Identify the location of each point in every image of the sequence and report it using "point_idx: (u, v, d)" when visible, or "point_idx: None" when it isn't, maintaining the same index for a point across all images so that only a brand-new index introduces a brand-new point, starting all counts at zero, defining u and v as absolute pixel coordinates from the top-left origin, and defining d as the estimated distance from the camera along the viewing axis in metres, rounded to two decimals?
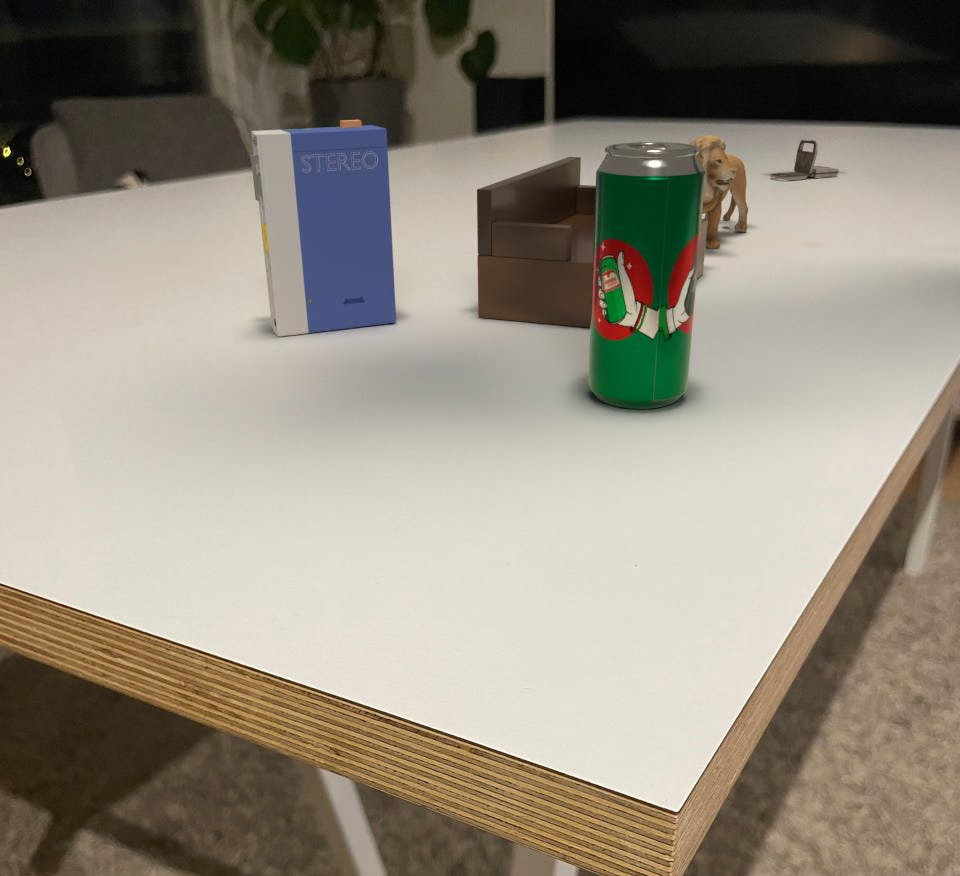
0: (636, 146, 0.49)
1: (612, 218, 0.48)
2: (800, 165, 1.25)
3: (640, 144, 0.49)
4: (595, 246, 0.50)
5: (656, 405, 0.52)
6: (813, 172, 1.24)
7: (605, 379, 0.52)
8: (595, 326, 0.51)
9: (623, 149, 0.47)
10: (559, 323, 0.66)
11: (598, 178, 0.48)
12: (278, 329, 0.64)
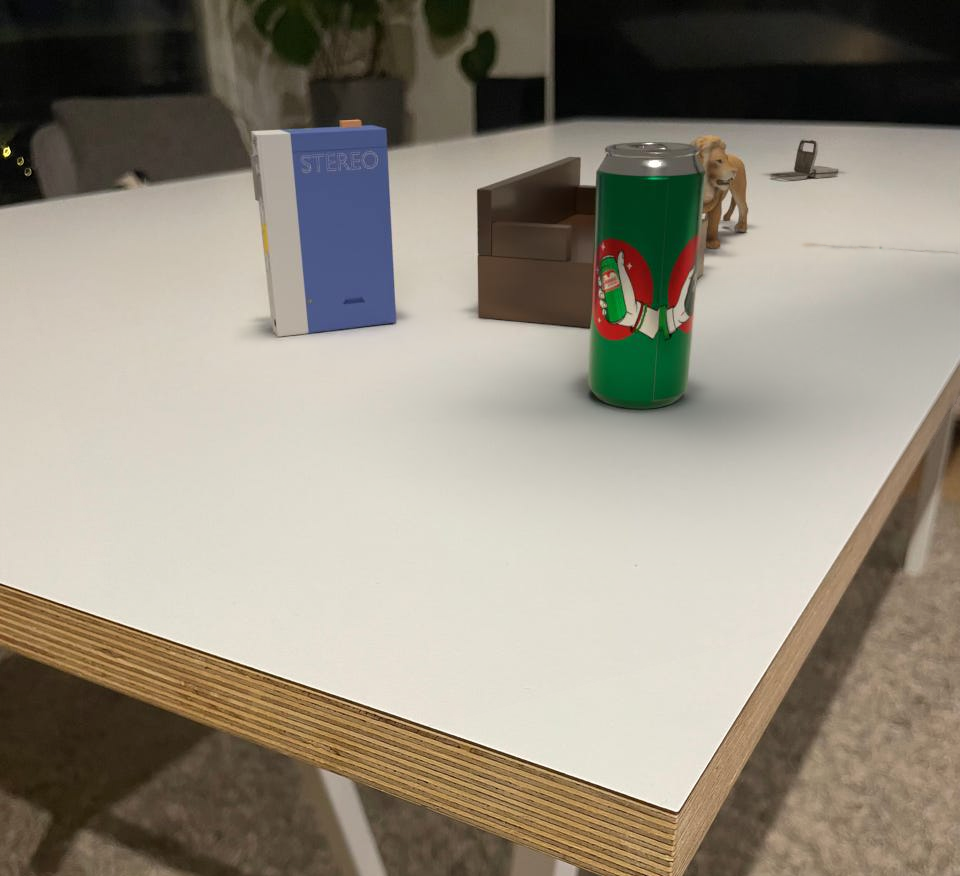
0: (636, 146, 0.49)
1: (612, 218, 0.48)
2: (800, 165, 1.25)
3: (640, 144, 0.49)
4: (595, 246, 0.50)
5: (656, 405, 0.52)
6: (813, 172, 1.24)
7: (605, 378, 0.52)
8: (595, 326, 0.51)
9: (623, 149, 0.47)
10: (559, 323, 0.66)
11: (598, 178, 0.48)
12: (278, 329, 0.64)
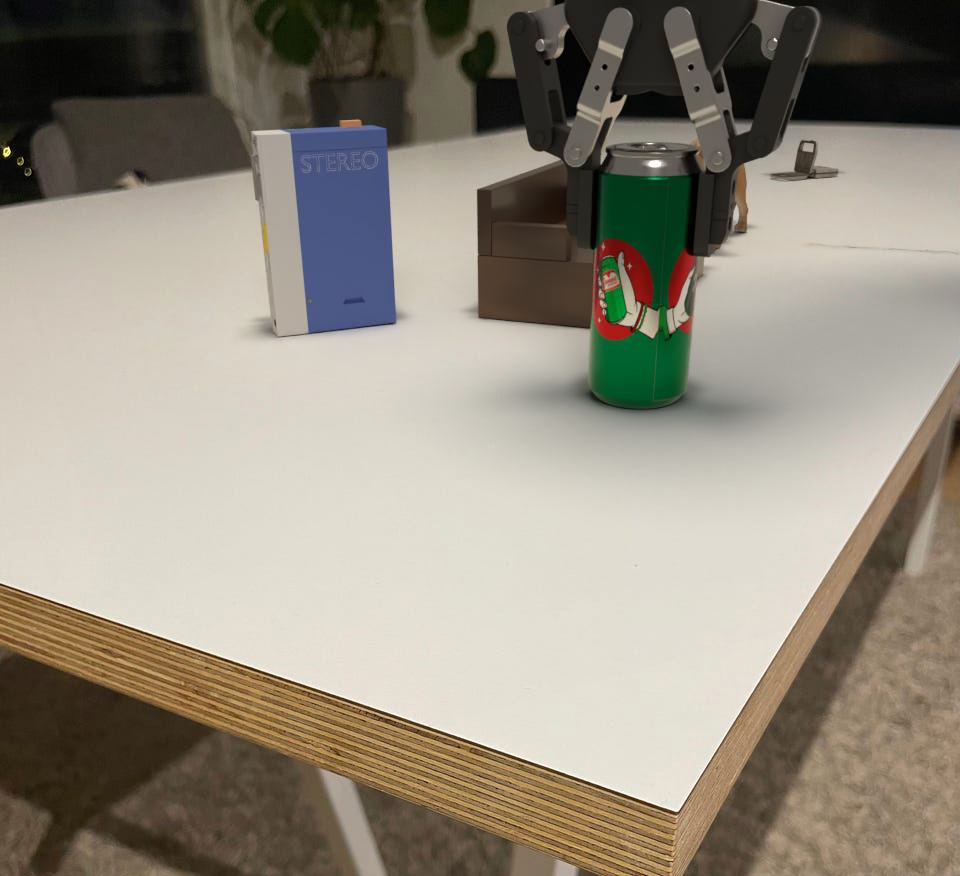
0: (637, 146, 0.49)
1: (612, 218, 0.48)
2: (800, 165, 1.25)
3: (640, 144, 0.49)
4: (595, 246, 0.50)
5: (656, 405, 0.52)
6: (813, 172, 1.24)
7: (604, 378, 0.52)
8: (595, 326, 0.51)
9: (624, 149, 0.47)
10: (559, 323, 0.66)
11: (598, 178, 0.48)
12: (278, 329, 0.64)
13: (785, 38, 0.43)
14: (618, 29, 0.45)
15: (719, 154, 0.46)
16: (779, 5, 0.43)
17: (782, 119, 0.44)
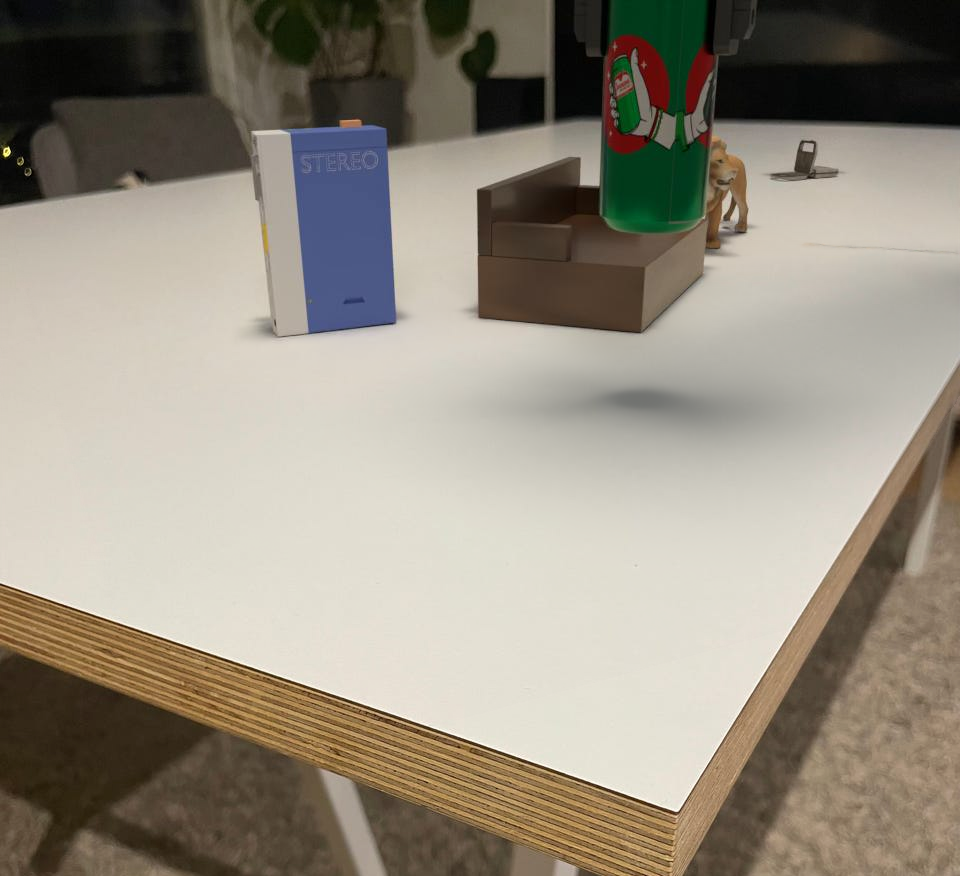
0: None
1: (625, 11, 0.44)
2: (800, 165, 1.25)
3: None
4: (606, 49, 0.46)
5: (672, 229, 0.48)
6: (813, 172, 1.24)
7: (617, 200, 0.48)
8: (605, 142, 0.47)
9: None
10: (559, 323, 0.66)
11: None
12: (278, 329, 0.64)
13: None
14: None
15: None
16: None
17: None
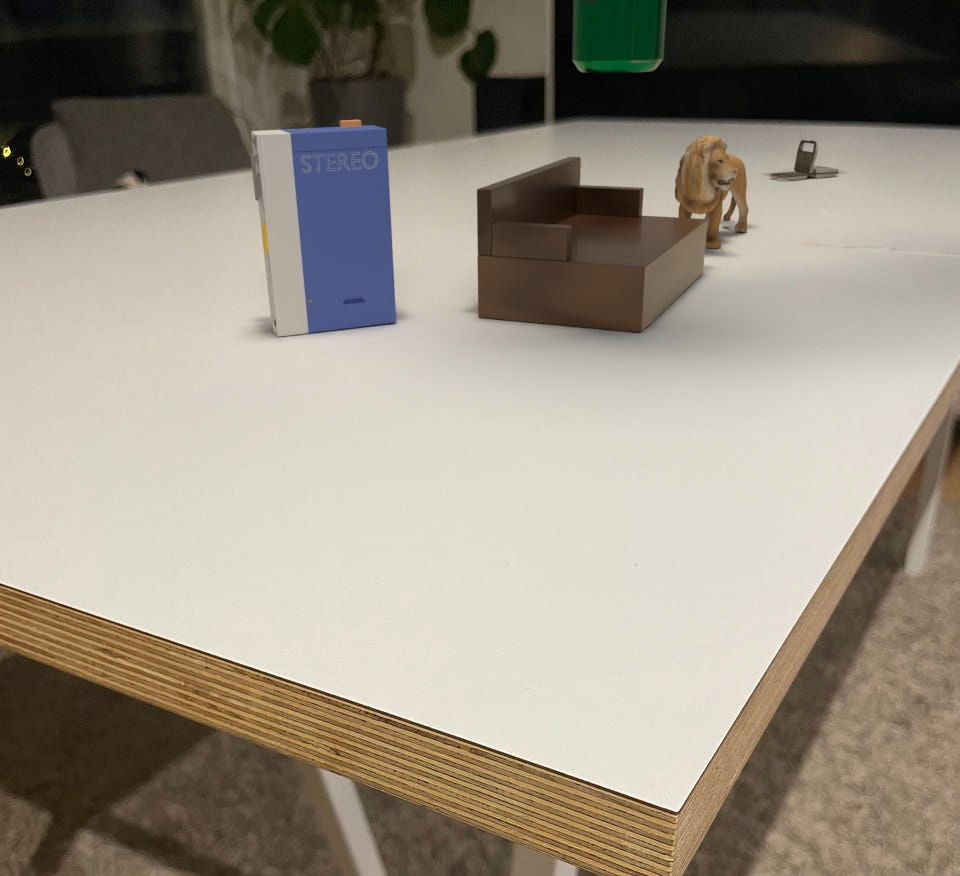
0: None
1: None
2: (800, 165, 1.25)
3: None
4: None
5: (634, 68, 0.56)
6: (813, 172, 1.24)
7: (587, 43, 0.56)
8: None
9: None
10: (559, 323, 0.66)
11: None
12: (278, 329, 0.64)
13: None
14: None
15: None
16: None
17: None
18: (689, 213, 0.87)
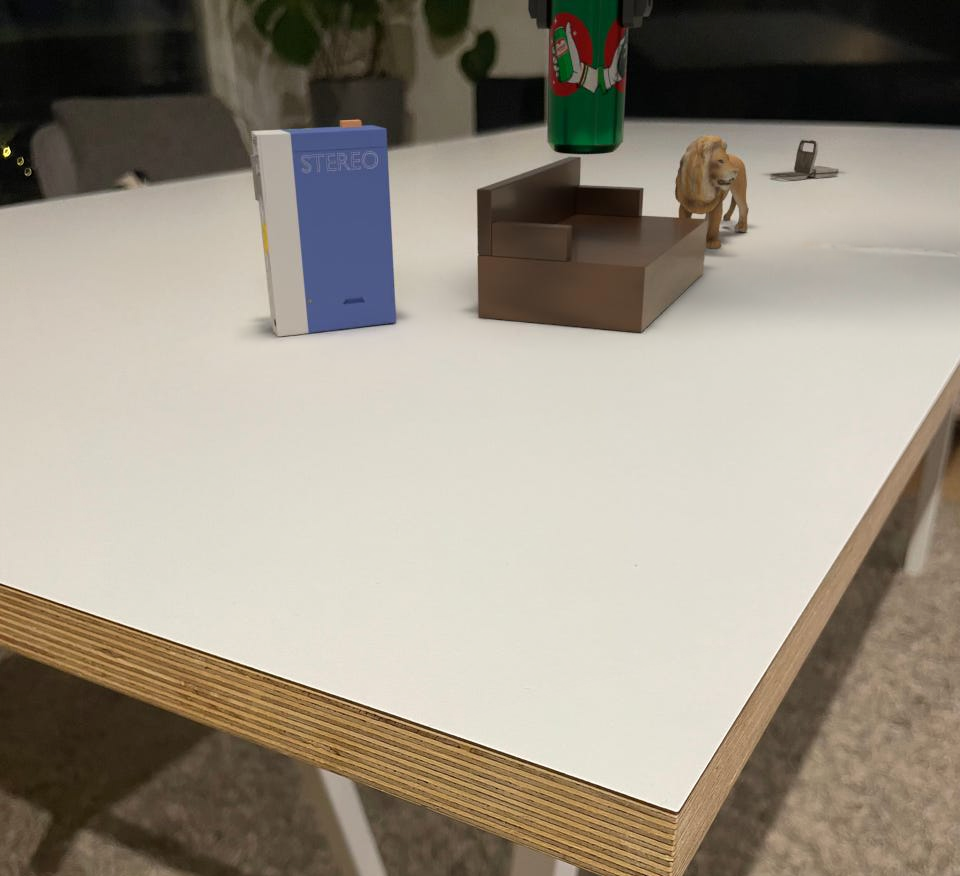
0: None
1: None
2: (800, 165, 1.25)
3: None
4: (550, 23, 0.66)
5: (597, 151, 0.68)
6: (813, 172, 1.24)
7: (558, 130, 0.68)
8: (550, 88, 0.67)
9: None
10: (559, 323, 0.66)
11: None
12: (278, 329, 0.64)
13: None
14: None
15: None
16: None
17: None
18: (689, 213, 0.87)
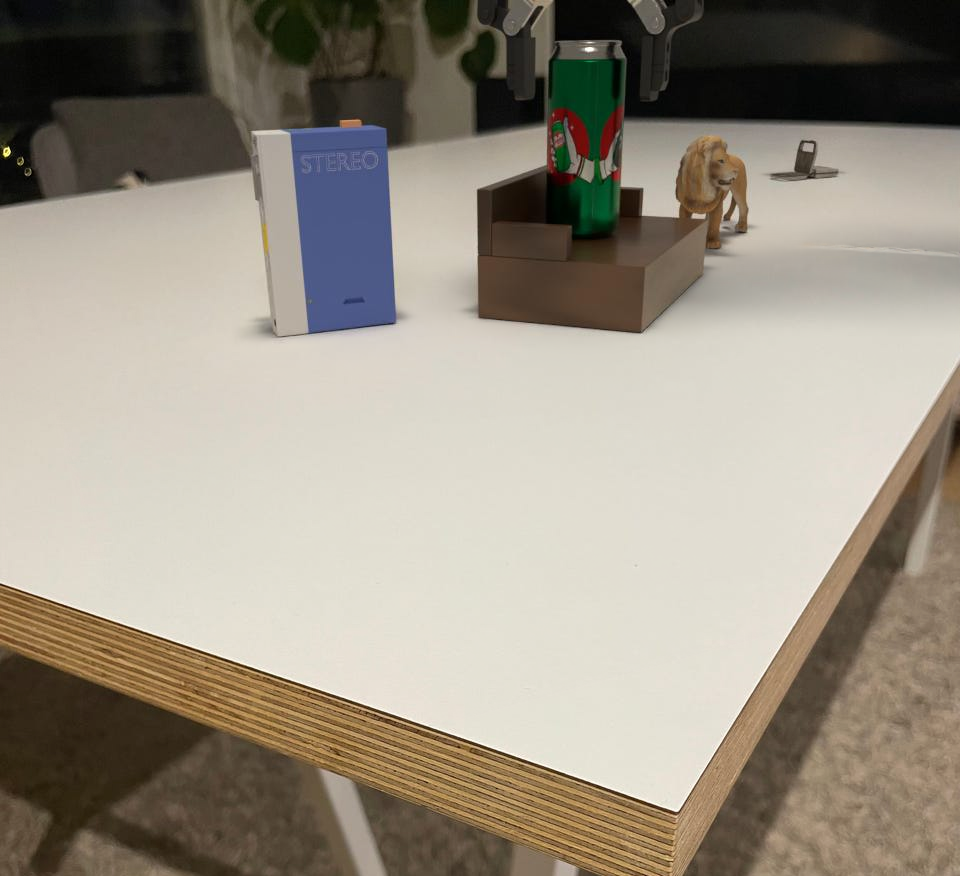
0: None
1: (559, 92, 0.67)
2: (800, 165, 1.25)
3: (580, 41, 0.68)
4: (548, 116, 0.68)
5: (594, 236, 0.70)
6: (813, 172, 1.24)
7: (556, 216, 0.70)
8: (549, 177, 0.70)
9: (566, 41, 0.66)
10: (559, 323, 0.66)
11: (549, 64, 0.67)
12: (278, 329, 0.64)
13: None
14: None
15: (655, 20, 0.63)
16: None
17: None
18: (690, 213, 0.87)
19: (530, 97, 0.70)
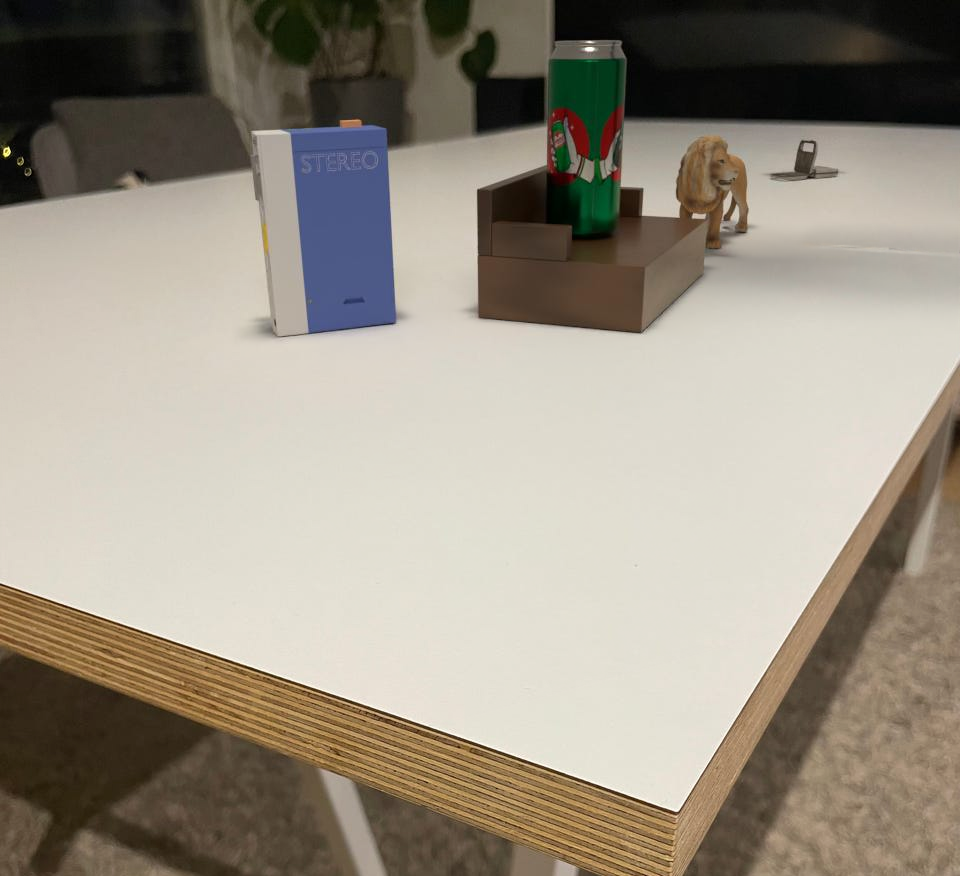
0: None
1: (559, 92, 0.67)
2: (800, 165, 1.25)
3: (581, 41, 0.68)
4: (548, 115, 0.68)
5: (594, 236, 0.70)
6: (813, 172, 1.24)
7: (556, 216, 0.70)
8: (549, 177, 0.70)
9: (567, 41, 0.66)
10: (559, 323, 0.66)
11: (549, 64, 0.67)
12: (278, 329, 0.64)
13: None
14: None
15: None
16: None
17: None
18: (690, 213, 0.87)
19: None
